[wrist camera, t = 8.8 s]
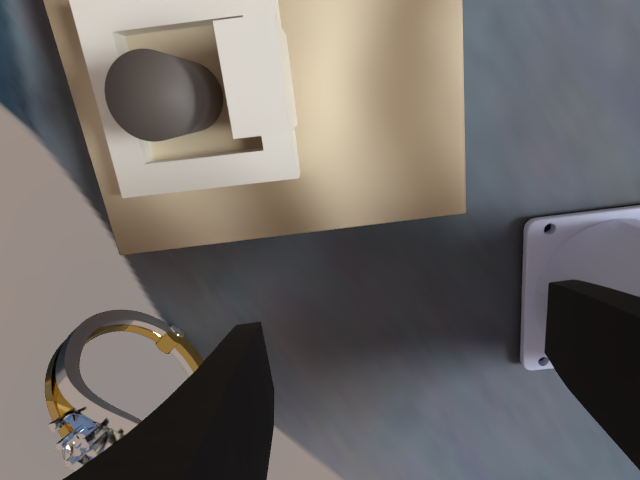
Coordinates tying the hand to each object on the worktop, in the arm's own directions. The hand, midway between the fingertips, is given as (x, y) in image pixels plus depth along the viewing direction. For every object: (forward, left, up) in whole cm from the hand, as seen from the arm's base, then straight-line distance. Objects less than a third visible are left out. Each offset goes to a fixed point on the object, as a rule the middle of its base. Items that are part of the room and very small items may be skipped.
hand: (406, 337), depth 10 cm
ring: (+10, +4, -10) cm, 15 cm away
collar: (+6, -7, -8) cm, 12 cm away
